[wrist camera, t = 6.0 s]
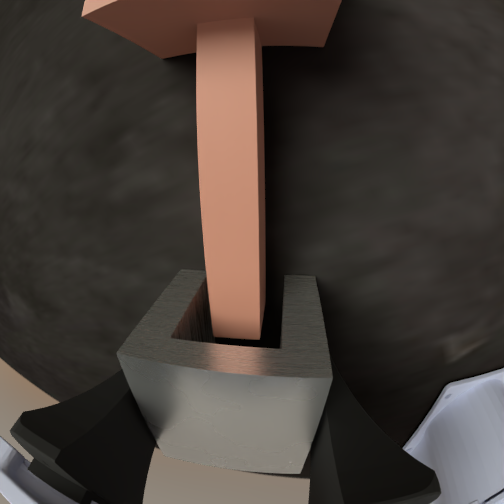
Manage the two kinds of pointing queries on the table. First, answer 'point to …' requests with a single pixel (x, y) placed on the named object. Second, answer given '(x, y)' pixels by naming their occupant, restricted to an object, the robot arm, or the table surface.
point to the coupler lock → (229, 380)
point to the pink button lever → (225, 124)
